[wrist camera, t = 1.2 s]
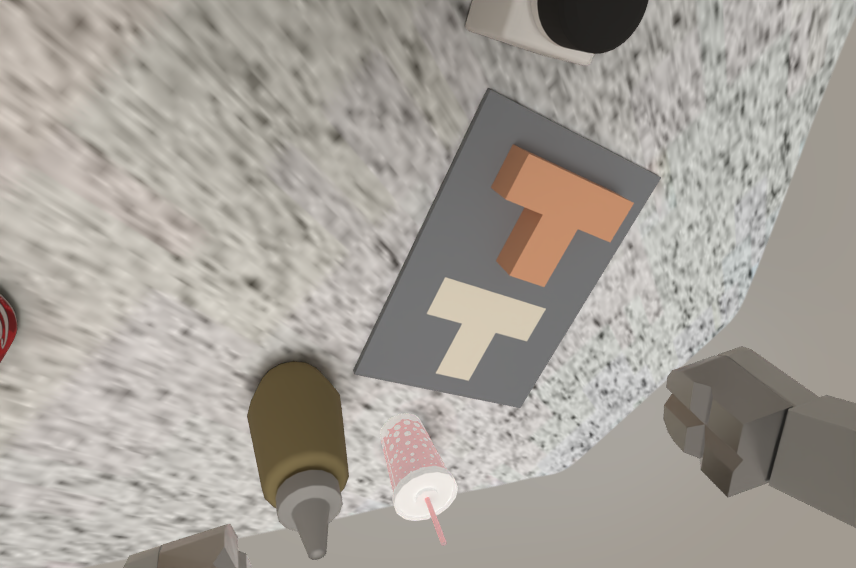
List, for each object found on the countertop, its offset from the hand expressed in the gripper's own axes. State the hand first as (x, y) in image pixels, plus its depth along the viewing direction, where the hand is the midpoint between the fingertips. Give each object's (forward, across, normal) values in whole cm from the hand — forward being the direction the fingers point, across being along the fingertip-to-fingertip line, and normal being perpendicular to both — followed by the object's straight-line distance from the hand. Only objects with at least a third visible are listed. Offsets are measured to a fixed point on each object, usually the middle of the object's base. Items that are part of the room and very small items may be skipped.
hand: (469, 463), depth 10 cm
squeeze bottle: (+36, +6, +25) cm, 45 cm away
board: (+36, -16, +19) cm, 44 cm away
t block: (+36, -19, +14) cm, 43 cm away
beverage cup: (+36, -3, +35) cm, 51 cm away
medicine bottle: (+36, -18, -4) cm, 41 cm away
